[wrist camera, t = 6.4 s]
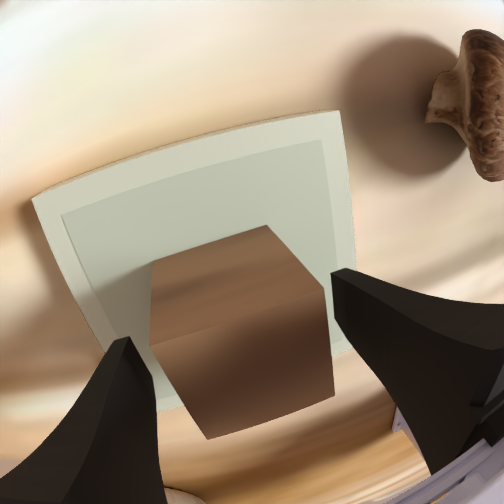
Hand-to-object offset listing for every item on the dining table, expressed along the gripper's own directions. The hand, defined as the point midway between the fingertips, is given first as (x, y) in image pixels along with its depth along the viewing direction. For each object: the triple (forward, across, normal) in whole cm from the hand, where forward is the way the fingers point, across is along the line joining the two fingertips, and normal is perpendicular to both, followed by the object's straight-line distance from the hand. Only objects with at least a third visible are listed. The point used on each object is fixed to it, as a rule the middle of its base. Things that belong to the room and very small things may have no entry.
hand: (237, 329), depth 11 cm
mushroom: (+5, -15, -6) cm, 17 cm away
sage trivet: (+4, 0, 0) cm, 4 cm away
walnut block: (+3, 0, 0) cm, 3 cm away
